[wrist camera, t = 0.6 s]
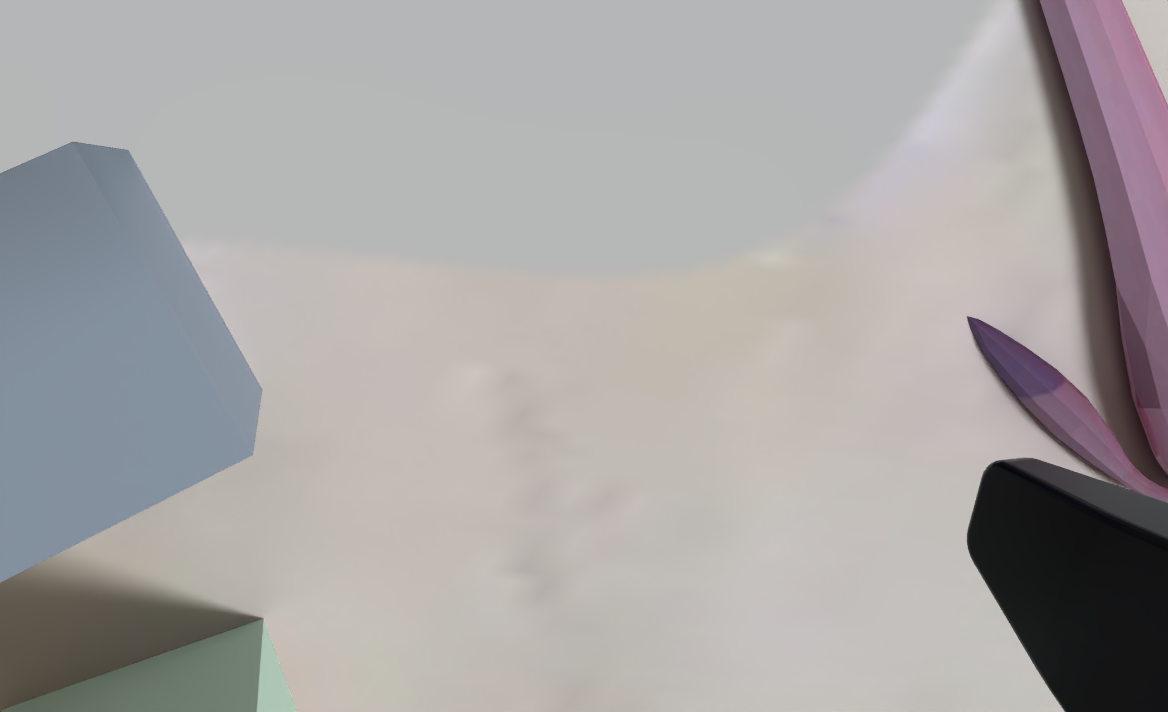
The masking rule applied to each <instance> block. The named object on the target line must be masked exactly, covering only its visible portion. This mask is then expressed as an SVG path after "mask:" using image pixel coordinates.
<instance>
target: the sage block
mask: <svg viewBox="0 0 1168 712" xmlns="http://www.w3.org/2000/svg"><path fill="white" fill-rule="evenodd" d="M1 712H297V709H296V707H295V704H294V701H293V698H292V696H291V693H290V690H289V687H288V684H287V682H286V679H285V676H284V673H283V671H282V668H281V665H280V662H279V659H278V657H277V654H276V651H275V648H274V645H273V643H272V640H271V637H270V634H269V632H268V629H267V626H266V623H265V620H264V618H263V619H260V620H257V621H254V622H252V623H249V624H246V625H243V626H240V627H237V628H234V629H231V630H229V631H226V632H223V633H220V634H217V635H214V636H211V637H208V638H206V639H203V640H200V641H197V642H194V643H191V644H188V645H186V646H183V647H180V648H177V649H174V650H171V651H168V652H165V653H163V654H160V655H157V656H154V657H151V658H148V659H145V660H142V661H140V662H137V663H134V664H131V665H128V666H125V667H122V668H119V669H117V670H114V671H111V672H108V673H105V674H102V675H99V676H96V677H94V678H91V679H88V680H85V681H82V682H79V683H76V684H73V685H71V686H68V687H65V688H62V689H59V690H56V691H53V692H50V693H48V694H45V695H42V696H39V697H36V698H33V699H30V700H28V701H25V702H22V703H19V704H16V705H13V706H10V707H7V708H5V709H2V711H1Z"/></svg>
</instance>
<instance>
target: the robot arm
mask: <svg viewBox="0 0 1168 712" xmlns="http://www.w3.org/2000/svg"><path fill="white" fill-rule="evenodd" d="M967 545H968V550H969V553H970V556H971V558H972V560H973V562H974V564H975V566H976V567H977V569H978V571H979V572H980V574H981V576H982V578H983V579H984V581H985V583H986V584H987V586H988V588H989V589H990V591H991V593H992V594H993V596H994V598H995V599H996V601H997V603H998V605H999V606H1000V608H1001V610H1002V611H1003V613H1004V615H1005V616H1006V618H1007V620H1008V621H1009V623H1010V625H1011V627H1012V628H1013V630H1014V632H1015V633H1016V635H1017V637H1018V638H1019V640H1020V642H1021V643H1022V645H1023V647H1024V648H1025V650H1026V652H1027V654H1028V655H1029V657H1030V659H1031V660H1032V662H1033V664H1034V665H1035V667H1036V669H1037V670H1038V672H1039V673H1040V675H1041V677H1042V678H1043V680H1044V681H1045V683H1046V685H1047V686H1048V688H1049V689H1050V691H1051V692H1052V694H1053V695H1054V697H1055V698H1056V700H1057V701H1058V702H1059V704H1060V705H1061V707H1062V708H1063V710H1064V711H1065V712H1168V502H1164V501H1161V500H1158V499H1155V498H1152V497H1149V496H1146V495H1143V494H1140V493H1137V492H1134V491H1131V490H1128V489H1125V488H1122V487H1119V486H1116V485H1113V484H1110V483H1107V482H1104V481H1101V480H1098V479H1095V478H1092V477H1089V476H1086V475H1083V474H1080V473H1077V472H1074V471H1071V470H1068V469H1065V468H1062V467H1059V466H1056V465H1053V464H1050V463H1047V462H1044V461H1041V460H1038V459H1034V458H1017V459H1007V460H999V461H995V462H993V463H991V464H990V465H989V466H988V467H987V468H986V470H985V471H984V473H983V475H982V478H981V482H980V486H979V490H978V493H977V497H976V501H975V505H974V508H973V512H972V516H971V520H970V523H969V527H968V532H967Z"/></svg>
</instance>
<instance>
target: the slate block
mask: <svg viewBox="0 0 1168 712" xmlns="http://www.w3.org/2000/svg"><path fill="white" fill-rule="evenodd" d="M261 395H262V388H261V387H260V385H259V383H258V381H257V379H256V378H255V376H254V374H253V372H252V370H251V369H250V367H249V365H248V363H247V362H246V360H245V358H244V356H243V354H242V353H241V351H240V349H239V347H238V346H237V344H236V342H235V340H234V338H233V337H232V335H231V333H230V331H229V329H228V328H227V326H226V324H225V322H224V321H223V319H222V317H221V315H220V313H219V312H218V310H217V308H216V306H215V304H214V303H213V301H212V299H211V297H210V296H209V294H208V292H207V290H206V288H205V287H204V285H203V283H202V281H201V280H200V278H199V276H198V274H197V272H196V271H195V269H194V267H193V265H192V263H191V262H190V260H189V258H188V256H187V255H186V253H185V251H184V249H183V247H182V246H181V243H180V241H179V239H178V237H177V236H176V234H175V232H174V230H173V228H172V227H171V225H170V223H169V221H168V220H167V218H166V216H165V214H164V213H163V211H162V209H161V207H160V205H159V204H158V202H157V200H156V198H155V196H154V195H153V193H152V191H151V189H150V187H149V186H148V184H147V182H146V180H145V178H144V177H143V175H142V173H141V171H140V170H139V168H138V166H137V164H136V163H135V161H134V159H133V157H132V155H131V154H130V152H129V150H124V149H116V148H111V147H104V146H97V145H91V144H84V143H78V142H71V143H69V144H67V145H64V146H62V147H60V148H58V149H55V150H53V151H51V152H49V153H46V154H44V155H42V156H39V157H37V158H35V159H32V160H30V161H28V162H26V163H23V164H21V165H19V166H16V167H14V168H12V169H10V170H7V171H5V172H3V173H1V174H0V583H1V582H2V581H4V580H6V579H8V578H10V577H12V576H14V575H16V574H18V573H20V572H22V571H24V570H26V569H28V568H30V567H32V566H34V565H36V564H38V563H40V562H42V561H44V560H46V559H48V558H50V557H52V556H54V555H56V554H58V553H60V552H62V551H64V550H66V549H68V548H70V547H72V546H74V545H76V544H78V543H80V542H82V541H84V540H86V539H88V538H89V537H91V536H93V535H95V534H97V533H99V532H101V531H103V530H105V529H107V528H109V527H111V526H113V525H115V524H117V523H119V522H121V521H123V520H125V519H127V518H129V517H131V516H133V515H135V514H137V513H139V512H141V511H143V510H145V509H147V508H149V507H151V506H153V505H155V504H157V503H159V502H161V501H163V500H165V499H167V498H169V497H171V496H173V495H175V494H176V493H178V492H180V491H182V490H184V489H186V488H188V487H190V486H192V485H194V484H196V483H198V482H200V481H202V480H204V479H206V478H208V477H210V476H212V475H214V474H216V473H218V472H220V471H222V470H224V469H226V468H228V467H230V466H232V465H234V464H236V463H238V462H240V461H242V460H244V459H246V458H248V457H250V456H252V455H253V450H254V443H255V437H256V430H257V423H258V416H259V409H260V402H261Z"/></svg>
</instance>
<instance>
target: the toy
mask: <svg viewBox="0 0 1168 712" xmlns="http://www.w3.org/2000/svg"><path fill="white" fill-rule="evenodd" d="M1040 3H1041V6H1042V9H1043V12H1044V15H1045V19H1046V22H1047V25H1048V28H1049V31H1050V35H1051V38H1052V41H1053V44H1054V47H1055V50H1056V54H1057V57H1058V60H1059V63H1060V66H1061V69H1062V73H1063V76H1064V79H1065V82H1066V86H1067V89H1068V92H1069V95H1070V99H1071V102H1072V105H1073V108H1074V111H1075V115H1076V118H1077V121H1078V125H1079V128H1080V132H1081V135H1082V139H1083V142H1084V146H1085V149H1086V153H1087V156H1088V160H1089V163H1090V167H1091V170H1092V174H1093V177H1094V182H1095V186H1096V191H1097V195H1098V200H1099V204H1100V208H1101V213H1102V217H1103V222H1104V226H1105V231H1106V236H1107V241H1108V246H1109V251H1110V256H1111V261H1112V267H1113V272H1114V277H1115V282H1116V290H1117V299H1118V309H1119V318H1120V328H1121V337H1122V344H1123V349H1124V355H1125V360H1126V365H1127V371H1128V376H1129V382H1130V387H1131V393H1132V398H1133V401H1134V404H1135V407H1136V409H1137V412H1138V415H1139V417H1140V420H1141V423H1142V426H1143V428H1144V431H1145V434H1146V437H1147V439H1148V442H1149V445H1150V448H1151V450H1152V452H1153V454H1154V456H1155V458H1156V460H1157V461H1158V463H1159V464H1160V465H1161V467H1162V468H1163V470H1164V471H1165V472H1166V474H1167V475H1168V105H1167V103H1166V100H1165V98H1164V96H1163V93H1162V91H1161V89H1160V86H1159V84H1158V82H1157V79H1156V77H1155V75H1154V73H1153V70H1152V68H1151V66H1150V64H1149V61H1148V59H1147V57H1146V54H1145V52H1144V50H1143V48H1142V45H1141V43H1140V41H1139V38H1138V36H1137V34H1136V32H1135V29H1134V27H1133V25H1132V23H1131V20H1130V18H1129V16H1128V14H1127V11H1126V9H1125V7H1124V5H1123V2H1122V0H1040ZM967 318H968V322H969V325H970V328H971V331H972V333H973V335H974V337H975V339H976V341H977V342H978V344H979V346H980V348H981V350H982V352H983V353H984V355H985V356H986V358H987V359H988V360H989V362H990V363H991V365H992V366H993V367H994V369H995V370H996V371H997V373H998V374H999V376H1000V377H1001V378H1002V379H1003V381H1004V382H1005V383H1006V384H1007V385H1008V386H1009V388H1010V389H1011V390H1012V391H1013V392H1014V393H1015V395H1016V396H1017V397H1018V398H1019V399H1020V401H1021V402H1022V403H1023V404H1024V405H1025V406H1026V407H1027V408H1028V409H1029V410H1030V411H1031V412H1032V413H1033V414H1034V415H1035V416H1036V417H1037V418H1038V419H1039V420H1040V421H1041V422H1042V423H1043V424H1044V425H1045V426H1046V427H1047V428H1048V429H1049V430H1050V431H1051V432H1052V433H1053V434H1054V435H1055V436H1056V437H1057V438H1058V439H1060V440H1061V441H1062V442H1064V443H1065V444H1066V445H1068V446H1069V447H1070V448H1071V449H1073V450H1074V451H1075V452H1077V453H1078V454H1079V455H1080V456H1082V457H1083V458H1084V459H1086V460H1087V461H1088V462H1090V463H1091V464H1093V465H1094V466H1096V467H1097V468H1099V469H1100V470H1102V471H1103V472H1105V473H1106V474H1108V475H1109V476H1110V477H1112V478H1113V479H1115V480H1116V481H1118V482H1120V483H1121V484H1123V485H1124V486H1126V487H1128V488H1129V489H1131V490H1132V491H1134V492H1137V493H1140V494H1143V495H1146V496H1149V497H1152V498H1155V499H1158V500H1161V501H1164V502H1168V488H1166V487H1162V486H1160V485H1158V484H1157V483H1155V482H1153V481H1151V480H1149V479H1148V478H1146V477H1145V476H1144V475H1143V474H1142V473H1141V472H1140V471H1139V470H1138V469H1137V468H1136V467H1135V466H1134V465H1133V464H1132V463H1131V462H1130V461H1129V459H1128V458H1127V456H1126V454H1125V453H1124V451H1123V449H1122V448H1121V446H1120V444H1119V443H1118V441H1117V439H1116V438H1115V436H1114V435H1113V433H1112V431H1111V430H1110V429H1109V427H1108V426H1107V425H1106V423H1105V422H1104V420H1103V419H1102V418H1101V416H1100V415H1099V414H1098V412H1097V411H1096V410H1095V408H1094V407H1093V406H1092V404H1091V403H1090V402H1089V400H1088V399H1087V397H1085V396H1084V395H1083V394H1082V393H1081V392H1080V391H1079V390H1078V389H1077V388H1076V387H1075V386H1074V385H1073V384H1072V383H1071V382H1070V381H1068V380H1067V379H1066V378H1065V377H1064V376H1063V375H1062V374H1061V373H1060V372H1059V371H1058V370H1057V369H1055V368H1054V367H1053V366H1051V365H1050V364H1048V363H1047V362H1046V361H1044V360H1043V359H1041V358H1040V357H1039V356H1037V355H1036V354H1034V353H1033V352H1032V351H1030V350H1029V349H1028V348H1026V347H1025V346H1023V345H1021V344H1020V343H1018V342H1017V341H1015V340H1013V339H1012V338H1010V337H1009V336H1007V335H1005V334H1004V333H1002V332H1001V331H999V330H997V329H995V328H994V327H992V326H990V325H988V324H986V323H985V322H983V321H981V320H979V319H976V318H972V317H968V316H967Z"/></svg>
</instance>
